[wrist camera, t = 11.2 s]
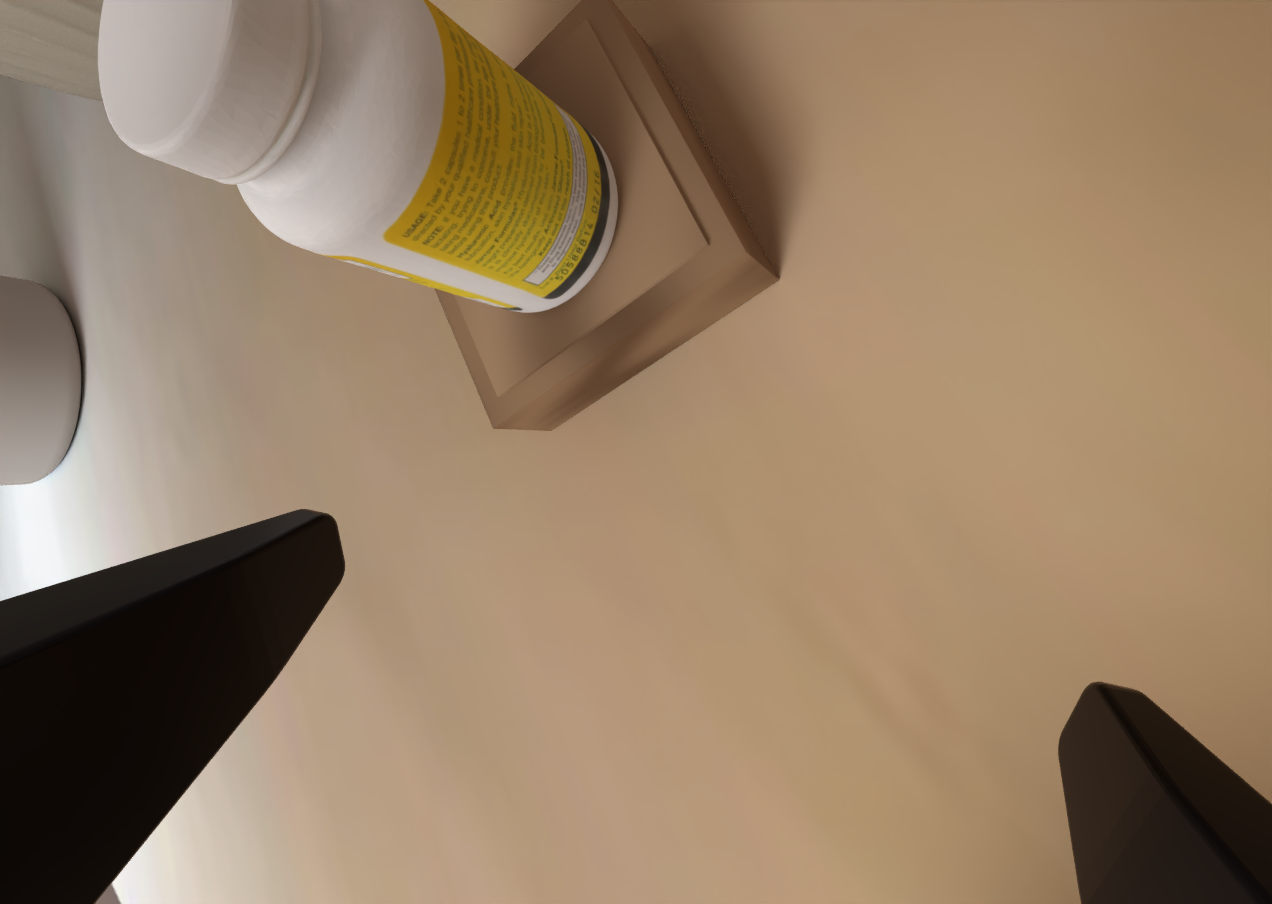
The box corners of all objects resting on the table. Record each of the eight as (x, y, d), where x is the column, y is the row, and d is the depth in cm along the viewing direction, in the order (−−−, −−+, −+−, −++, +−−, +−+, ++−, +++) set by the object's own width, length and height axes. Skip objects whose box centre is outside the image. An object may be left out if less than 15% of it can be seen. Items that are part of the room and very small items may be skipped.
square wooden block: (550, 430, 22) (489, 428, 19) (458, 219, 24) (390, 189, 21) (778, 279, 18) (743, 250, 16) (647, 44, 20) (595, -20, 18)
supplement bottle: (612, 93, 17) (249, -259, 9) (636, 290, 17) (283, 130, 8) (461, 160, 20) (63, -60, 11) (479, 333, 20) (85, 244, 11)
